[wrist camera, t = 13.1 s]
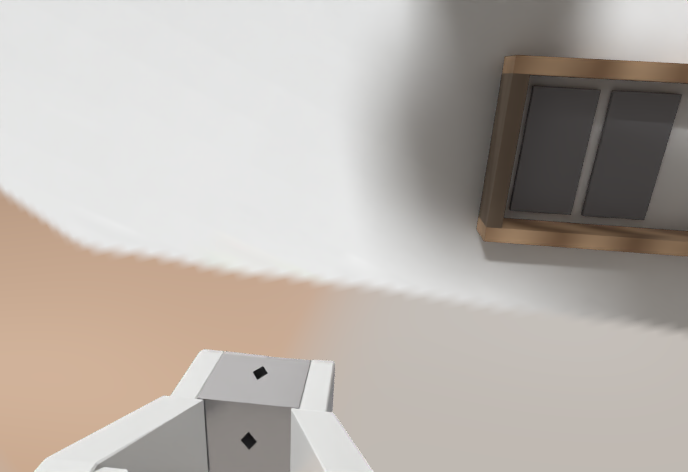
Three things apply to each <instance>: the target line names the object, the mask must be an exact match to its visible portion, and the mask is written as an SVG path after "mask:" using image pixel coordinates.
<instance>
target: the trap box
mask: <svg viewBox="0 0 688 472" xmlns="http://www.w3.org/2000/svg"><path fill="white" fill-rule="evenodd" d="M530 75H539V76H557V77H576V78H594V79H612V80H631V81H649V82H668V83H686V84H688V64H680V63H660V62H641V61H622V60H603V59H583V58H564V57H545V56H526V55H513V56H507V57H505V59H504V65H503V71H502V77H501V83H500V89H499V95H498V101H497V107H496V113H495V119H494V125H493V132H492V138H491V144H490V150H489V156H488V162H487V168H486V174H485V180H484V186H483V192H482V198H481V204H480V210H479V217H478V223H477V231H478V233H479V234H480V236H481V237H482V239H483V240H484V241H487V242H500V243H514V244H527V245H540V246H554V247H567V248H581V249H594V250H607V251H621V252H634V253H648V254H661V255H674V256H688V231H678V230H664V229H650V228H636V227H622V226H608V225H594V224H580V223H566V222H552V221H539V220H525V219H511V218H504V213H505V208H506V202H507V197H508V191H509V186H510V181H511V175H512V170H513V164H514V159H515V154H516V148H517V143H518V137H519V132H520V127H521V121H522V116H523V110H524V105H525V100H526V94H527V89H528V83H529V78H530Z"/></svg>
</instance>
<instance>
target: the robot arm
mask: <svg viewBox="0 0 688 472" xmlns="http://www.w3.org/2000/svg"><path fill="white" fill-rule="evenodd" d="M334 376H335V363H334V361H326V360H302V359H289V358H278V357H269V356H262V355H254V354H253V355H252V354H245V353H236V352H227V351H226V352H224V351H216V350H206V349H204V350H202V351H200V352H199V354H198V355H197V356H196V358H195V359H194V361H193V362H192V364H191V366H190V367H189V368H188V370H187V372H186V373H185V374H184V376H183V377H182V379H181V380H180V382H179V384H178V385H177V386H176V388H175V389H174V391H173V393H172V394H171V396H162V397H160V398H158V399H156V400H154V401H152V402H151V403H149V404H147V405H145V406H143V407H141V408H139V409H138V410H136V411H134V412H132V413H130V414H128V415H126V416H124V417H122V418H121V419H119V420H117V421H115V422H113V423H111V424H109V425H107V426H106V427H104V428H102V429H100V430H98V431H96V432H94V433H92V434H91V435H89V436H87V437H85V438H83V439H81V440H79V441H77V442H76V443H74V444H72V445H70V446H68V447H66V448H64V449H62V450H60V451H59V452H57V453H55V454H53V455H51V456H49V457H47V458H46V459H45V460H44V461H43V462H42V463H41V464H40V465H39V466H38V468H37V469H36V470H35V471H34V472H373V470H372V468H371V467H370V466H369V464H368V463H367V461H366V460H365V458H364V457H363V455H362V454H361V452H360V451H359V450H358V448H357V446H356V445H355V444H354V442H353V441H352V439H351V438H350V436H349V435H348V433H347V432H346V430H345V429H344V427H343V426H342V424H341V423H340V421H339V420H338V418H337V417H336V415H335V414H334V413H333V412H332V408H333V391H334Z"/></svg>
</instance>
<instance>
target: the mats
mask: <svg viewBox="0 0 688 472" xmlns="http://www.w3.org/2000/svg"><path fill="white" fill-rule="evenodd" d="M600 91H601V90H592V89H574V88H556V87H538V86H533V88H532V93H531V99H530V104H529V109H528V115H527V120H526V125H525V130H524V136H523V141H522V146H521V152H520V157H519V162H518V168H517V173H516V178H515V183H514V189H513V194H512V199H511V205H510V210H512V211H526V212H540V213H554V214H568V215H571V212H572V208H573V203H574V199H575V195H576V191H577V187H578V182H579V178H580V174H581V170H582V166H583V162H584V157H585V153H586V149H587V145H588V141H589V137H590V132H591V128H592V124H593V120H594V116H595V112H596V107H597V103H598V99H599V95H600ZM681 96H682V94H664V93H646V92H628V91H612V93H611V97H610V101H609V105H608V109H607V113H606V117H605V122H604V126H603V130H602V134H601V138H600V142H599V146H598V150H597V154H596V158H595V162H594V166H593V170H592V174H591V178H590V182H589V186H588V190H587V194H586V198H585V202H584V206H583V210H582V214H581V215H583V216H597V217H611V218H625V219H639V220H644V219H645V216H646V212H647V209H648V206H649V202H650V199H651V196H652V192H653V189H654V186H655V182H656V179H657V176H658V172H659V169H660V166H661V162H662V159H663V156H664V152H665V149H666V146H667V142H668V139H669V136H670V133H671V129H672V126H673V123H674V119H675V116H676V113H677V109H678V106H679V103H680V99H681Z"/></svg>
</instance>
